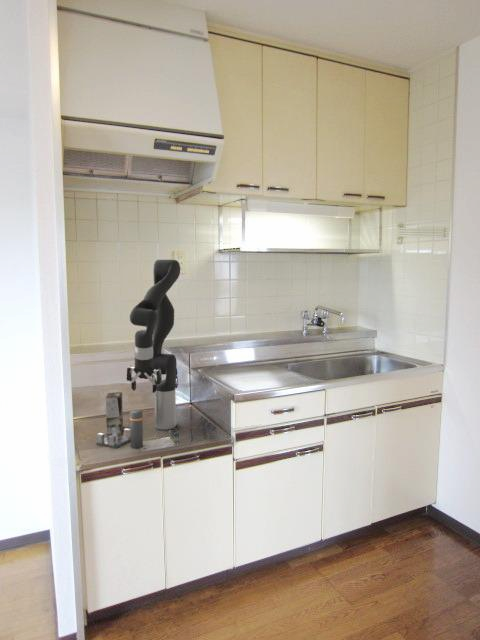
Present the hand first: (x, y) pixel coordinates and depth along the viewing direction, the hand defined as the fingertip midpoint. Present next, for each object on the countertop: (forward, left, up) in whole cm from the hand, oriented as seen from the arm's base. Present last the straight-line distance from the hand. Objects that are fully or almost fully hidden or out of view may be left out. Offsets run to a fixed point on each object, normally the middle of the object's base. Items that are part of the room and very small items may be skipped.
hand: (144, 390), depth 191 cm
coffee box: (0, -16, -20) cm, 26 cm away
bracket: (+11, -7, -20) cm, 24 cm away
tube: (+10, +4, -20) cm, 23 cm away
